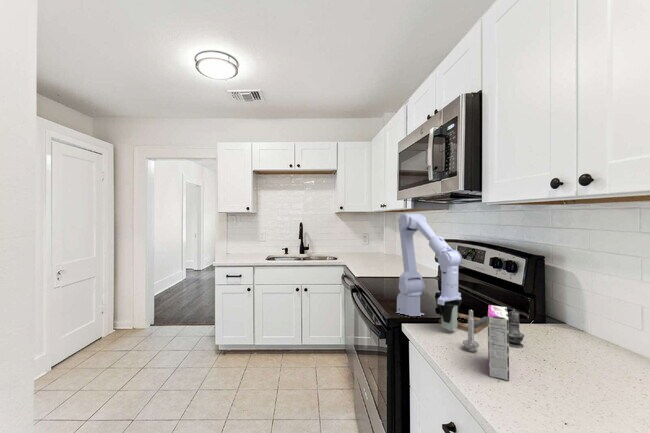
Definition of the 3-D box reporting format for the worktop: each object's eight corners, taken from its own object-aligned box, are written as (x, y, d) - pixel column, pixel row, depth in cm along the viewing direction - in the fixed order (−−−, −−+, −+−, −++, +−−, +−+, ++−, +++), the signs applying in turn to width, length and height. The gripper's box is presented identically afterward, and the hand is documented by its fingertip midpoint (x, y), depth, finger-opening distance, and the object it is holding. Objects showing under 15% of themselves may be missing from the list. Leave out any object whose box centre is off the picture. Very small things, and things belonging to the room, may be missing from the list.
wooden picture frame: (439, 323, 118) (439, 319, 118) (454, 315, 127) (454, 312, 127) (476, 333, 107) (476, 329, 107) (489, 324, 117) (490, 320, 117)
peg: (441, 327, 109) (441, 305, 109) (446, 324, 111) (446, 303, 111) (452, 330, 106) (452, 307, 106) (457, 327, 108) (457, 305, 108)
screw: (460, 346, 97) (476, 347, 96) (464, 352, 92) (481, 354, 92) (460, 306, 97) (476, 307, 96) (465, 311, 92) (481, 312, 92)
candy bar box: (487, 359, 88) (487, 304, 88) (507, 363, 86) (507, 306, 86) (487, 376, 79) (487, 315, 79) (509, 382, 76) (509, 318, 76)
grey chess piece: (528, 348, 96) (528, 311, 96) (510, 348, 96) (510, 311, 96) (517, 340, 101) (517, 306, 101) (499, 340, 102) (500, 305, 102)
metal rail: (472, 327, 109) (472, 323, 109) (484, 320, 117) (484, 316, 117) (476, 328, 108) (476, 324, 108) (487, 320, 116) (487, 317, 116)
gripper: (451, 288, 101) (451, 328, 101) (469, 282, 111) (468, 318, 111) (432, 285, 106) (432, 323, 106) (450, 279, 116) (450, 314, 116)
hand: (449, 320), depth 109 cm, fingers closed on peg, 4 cm apart
